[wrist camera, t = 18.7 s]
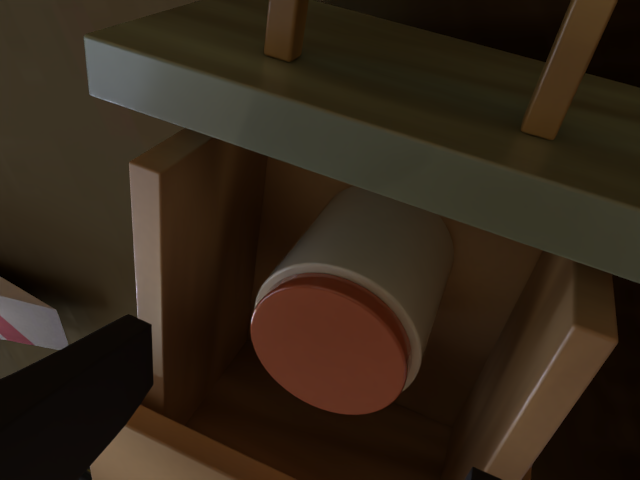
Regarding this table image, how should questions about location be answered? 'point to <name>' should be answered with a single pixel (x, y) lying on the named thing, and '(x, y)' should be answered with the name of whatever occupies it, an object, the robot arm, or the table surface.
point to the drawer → (391, 181)
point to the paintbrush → (28, 319)
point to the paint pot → (354, 303)
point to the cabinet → (176, 454)
